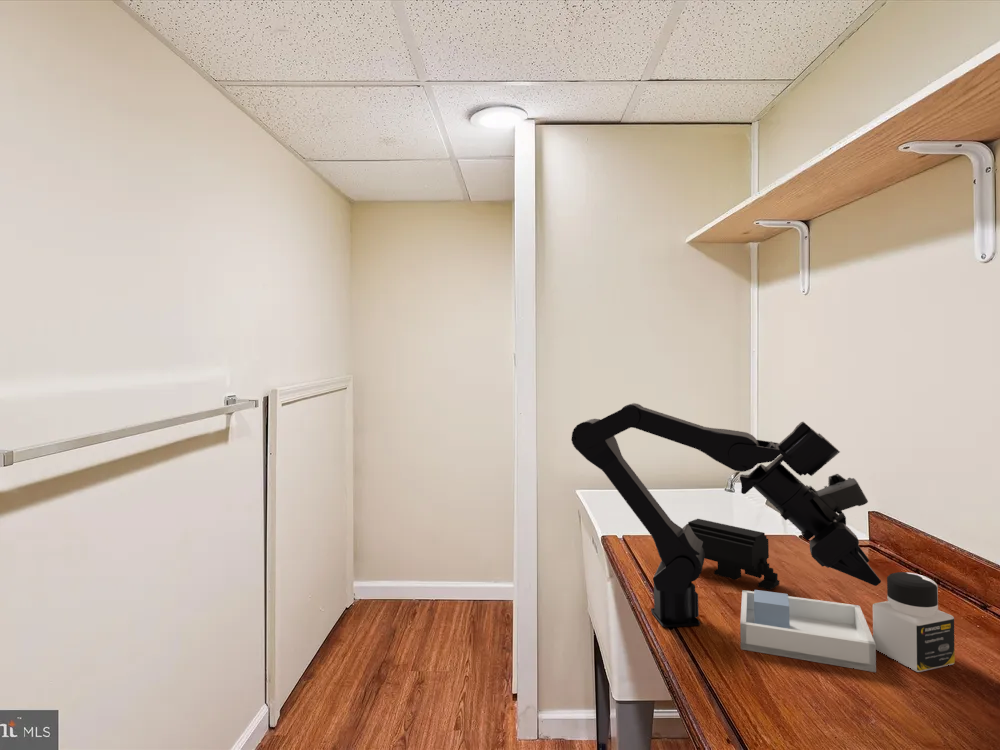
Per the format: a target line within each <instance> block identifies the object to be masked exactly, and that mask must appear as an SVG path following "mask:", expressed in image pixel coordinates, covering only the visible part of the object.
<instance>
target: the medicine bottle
mask: <svg viewBox="0 0 1000 750" xmlns="http://www.w3.org/2000/svg"><path fill="white" fill-rule="evenodd" d="M886 582H887V583H886V588H887V590H886V591H887V593H886V597H887V600H885V601H881V602H880V601H879V602H875V603H873V604H872V637H873V639H874V642H875V644H876V650H877V651H876V652H878V651H879V652H878V653H880V652H881V653H880V654H882V653H883V654H882V655H884V654H885V655H884V656H886V655H887V656H886V657H888V658H890V659H891V660H893V659H894V661H895V660H896V661H895V662H897V661H898V663H899V664H901V665H903V666H905V667H907V668H908V667H909V668H908V669H910V668H911V669H910V670H912V671H915V672H916V673H922V672H927V671H930V670H935V669H939V668H944V667H947V666H948V665H949V666H952V665H954V664H956V662H955V660H956V659H955V652H956V651H955V617H954V616H953V615H951V614H949V613H947V612H944V611H941V610H940V609H939V598H938V597H939V593H938V592H939V590H938V588H939V587H938V584H937V583H936V582H935V581H934V580H933V579H931V578H929V577H928V576H925V575H921V574H918V573H915V572H907V571H900V572H899V571H898V572H893V573H890V574H889V575H887V578H886Z"/></svg>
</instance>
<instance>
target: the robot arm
mask: <svg viewBox="0 0 1000 750" xmlns="http://www.w3.org/2000/svg"><path fill="white" fill-rule="evenodd" d="M630 428H631V429H632V428H634V429H636V430H639V431H642V432H645V433H649V434H651V435H654V436H656V437H660V438H662V439H666V440H668V441H672V442H675V443H678V444H680V445H684V446H686V447H689V448H692V449H695V450H698V451H699V452H701V453H703V454H705V455H706V456H708V457H709V458H711V459H713V460H714V461H716V462H718V463H720V464H722V465H723V466H725V467H727V468H728V469H731V470H733V471H736V472H739V473H740V472H741V473H742V472H743V473H744V472H747V471H750V470H752V469H753V470H752V471H751V472H750V473H749V474H740V475H739V480H740V484H741V488H740V489H741V490H740V493H741V494H742V495H745V494H747V493H748V492H749V491H750V490H751V489H753V488H754V489H755V490H756V491H757V492H758V493H759V494H760V495H761V496H762V497H764V498H765V499H766V501H768V502H769V503H770V504H771V506H773V507H774V508H776V510H778V511H779V513H780V517H782V518H783V519H784V520H785V521H787V520H788V521H789V522H790V523H791V524H792V525H793V526H794V527H796V529H798V530H799V531H800V532H801V536H802V537H803V538H804V539H805V540H806V541H809V551H810V555H811V558H813V559H814V561H816V562H817V563H818V565H820V566H821V567H823V568H824V567H826V568H830V569H832V570H836V571H837V572H840V573H843V574H846V575H847V576H850V577H854V578H855V579H858V580H860V581H862V582H865V583H867V584H869V585H872V586H874V587H877V586H878V585H879V584H881V583H882V581H881V579H880V577H879V576H878V575H877V573H876V572H875V571H874V570H873V569H872V567H871V566H870V565H869V562H870V559H869V557H868V556H867V555H866V553H865V552H864V551H863V549H862V548H861V546H860V545H859V544H860V540H859V538H858V537H857V535H856V534H855V533H854V532H853V531H852V530H851V529H850V528H849V527H848V526H847V517H846V515H845V514H844V512H843V511H845V510H847V509H851V508H854V507H856V506H858V507H861V506H864V505H866V504H868V503H869V500H868V498H867V497H866V495H865V493H864V491H863V490H862V488H861V486H860V484H859V482H858V481H857V480H856V478H854V477H853V478H851V477H848V478H847V479H846V478H845V477H843V476H841V475H840V474H839V473H835V474H832V475H830V476H828V484H827V485H825V486H823V488H821V489H819V490H816V488H815V489H814V487H812V485H807V484H804V483H803V482H802V481H801V480H800V479H799V478H798V477H797V476H795V474H793V473H792V471H793V472H795V473H796V474H797V475H799V476H800V477H802V476H806V475H808V476H811V477H813V475H814V474H816V473H817V472H819V470H821V469H822V468H823V467H824V466H825V465H827V464H828V463H829V462H831V460H832V459H833V458H835V457H836V456H837V455H839V454H840V453H841V451H840V450H839V449H838V448H837V447H836V446H834V444H832V443H831V442H830V441H829V440H828V439H826V437H824V436H823V435H822V433H820V432H817V431H815V430H814V429H813V428H811V427H810V426H809V425H808V424H806V423H805V422H804V421H801V422H800V423H798V425H796V427H795V428H794V429H793V430H792V432H790V434H788V435H787V436H786V437H785V438H784V439H782V440H781V441H780V442H775V441H774V442H773V441H767V440H761V439H757V438H756V437H755V436H754V435H753V434H750V433H749V432H746V431H739V430H735V429H734V430H732V429H726V428H717V427H708V426H703V425H700V424H697V423H695V422H694V423H693V422H691V421H687V420H684V419H682V418H679V417H675V416H673V415H669V414H666V413H663V412H659V411H657V410H653V409H650V408H647V407H644V406H642V405H641V404H639V403H635V402H633V403H629V404H627V405H625V406H623V407H622V408H621V409H619V410H617V411H615V412H614V413H611V414H609V415H607V416H605V417H603V418H601V419H599V418H591V419H587V420H585V421H582V422H580V423H578V424H577V425H576V426H575V427H574V428H573V430H572V432H571V444H572V445H573V447H574V449H575V450H576V451H578V453H579V454H581V456H583V458H584V459H586V460H587V461H588V462H589V463H590V464H592V465H594V466H595V467H597V468H598V469H599V470H601V471H602V472H603V473H604V474H605V476H606V477H607V479H609V481H610V483H611V484H612V485H613V487H614V488H615V489H616V490H617V492H618V493H619V494H620V496H621V497H622V498H623V500H624V501H625V502H626V504H627V506H628V507H629V508H630V509H631V510H632V512H633V513H634V515H635V516H636V517H637V518H638V520H639V521H640V523H641V524H642V525H643V527H644V528H645V529H646V531H648V533H649V535H650V536H651V537H652V539H653V541H654V545H655V547H656V550H657V552H658V556H659V558H660V563H659V565H658V567H657V568H656V571H655V573H654V575H653V577H652V582H653V607H652V608H650V612H651V613H652V615H653V616H654V617H655V618H656V620H657V621H658V622H659V624H660V625H661V626H662V628H677V627H678V628H679V627H692V626H693V627H694V626H700V625H701V621H700V620H699V619H698V618H699V593H697V591H696V585H695V584H694V583H693V582H695V581H696V580H697V579H699V578H700V575H701V574H702V571H703V566H704V562H705V553H704V550H703V548H702V544H703V541H701V540H700V539H698V538H697V537H696V536H695V534H694V533H693V531H692V529H691V527H690V526H689V524H688V523H686V525H684V526H683V527H681V526H679V525H678V524H676V523H675V522H674V521H673V520H671V518H670V516H669V515H668V514H667V513H666V512H665V510H664V508H662V506H661V505H660V504H659V503H658V501H657V499H655V497H654V496H653V495H652V493H651V492H650V491H649V489H648V487H646V485H645V484H644V483H643V482H642V480H641V479H640V478H639V477H638V475H637V474H636V473H635V471H634V470H633V468H632V467H631V466H630V465H629V463H628V462H627V461H626V460H625V458H624V456H623V454H622V452H621V449H620V447H619V444H618V441H617V438H616V437H615V436H616V435H618V434H621V433H623V432H625V431H627V430H629V429H630ZM782 462H784V463H785V464H786V465H787V466H788V467H789V468H790V469H791V470H792V471H790V470H789V469H788V468H787V467H785V466H784V465H783V464H782ZM763 463H764V464H765V463H769V464H768V465H766V466H765V465H764V464H763ZM758 464H759V465H758ZM756 466H757V467H756ZM755 467H756V468H755Z"/></svg>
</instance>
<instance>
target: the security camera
mask: <svg viewBox="0 0 1000 750" xmlns="http://www.w3.org/2000/svg"><path fill="white" fill-rule="evenodd" d="M687 524H689V526H690V527H691V529H692V531H693V533H694V534H695V536H696V537H697V538H698V539H700V540H701V541H703V544H702V548H703V550H704V553H705V558H704V560H710V561H713V562H715V563H716V562H717V569H714V571H713V574H714V575H716V576H719V577H723V578H726V579H730V580H733V581H737V580H739V579H741V578H742V570H744V575H747V576H751V577H755V578H758V579H762V577H763V579H762V580H761V581H759V582H758V583H757V586H758V588H761V589H764V590H766V591H767V590H768V591H772V590H774V588H776V587H777V586H779V585H780V580H779V579H778V577H779V576H778V573H777V572H774V568H773V567H770V563H768V559H769V556H770V554H769V552H770V551H769V550H770V549H769V546H770V545H769V538H767V535H765V534H766V533H765V532H762V531H757V530H752V529H749V528H744V527H738V526H734V525H730V524H725V523H721V522H716V521H711V520H706V519H702V518H695V519H693V520H690V521H688V523H687Z"/></svg>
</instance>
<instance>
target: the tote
mask: <svg viewBox="0 0 1000 750" xmlns="http://www.w3.org/2000/svg"><path fill="white" fill-rule="evenodd" d="M741 591H742V592H741V605H740V606H741V608H740V627H739V628H740V629H739V630H740V650H744V651H749V652H754V653H755V652H756V653H760V654H761V653H762V654H768V655H771V656H772V655H773V656H779V657H784V658H789V659H790V658H791V659H796V660H802V661H808V662H814V663H819V664H826V665H831V666H836V667H837V666H838V667H842V668H843V667H844V668H849V669H853V668H854V669H853V670H860V671H867V672H871V673H877V662H876V661H877V651H876V644H875V642H874V639H873V633H872V632H871V629H870V627H869V625H868V622H867V620H866V617H865V615H864V612H863V611H862V608H861V606H860V605H857V604H850V603H842V602H836V601H828V600H821V599H820V600H819V599H814V598H813V599H812V598H805V597H798V596H790V595H788V600H789V619H790V629H788V628H781V627H775V626H768V625H762V624H755V621H754V591H753V590H752V591H751V590H745V589H744V590H743V589H742V590H741Z"/></svg>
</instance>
